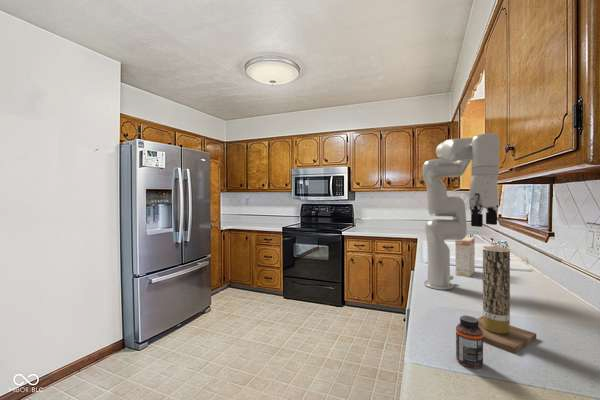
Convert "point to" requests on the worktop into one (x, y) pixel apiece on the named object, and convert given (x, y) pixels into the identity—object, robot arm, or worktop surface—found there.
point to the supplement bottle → (469, 342)
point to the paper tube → (496, 289)
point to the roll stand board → (508, 338)
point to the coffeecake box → (465, 256)
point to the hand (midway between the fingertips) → (484, 225)
